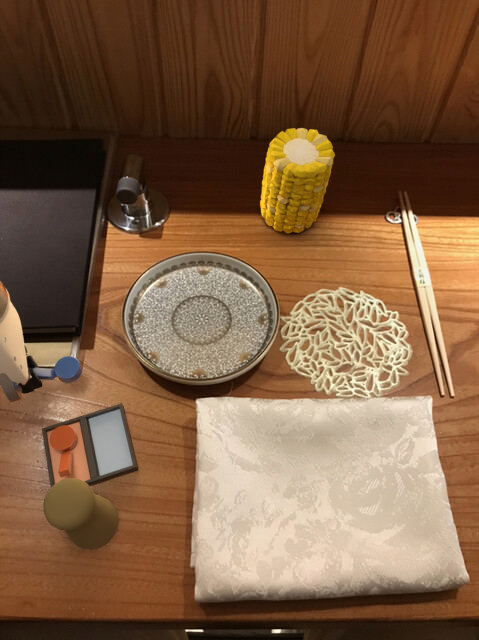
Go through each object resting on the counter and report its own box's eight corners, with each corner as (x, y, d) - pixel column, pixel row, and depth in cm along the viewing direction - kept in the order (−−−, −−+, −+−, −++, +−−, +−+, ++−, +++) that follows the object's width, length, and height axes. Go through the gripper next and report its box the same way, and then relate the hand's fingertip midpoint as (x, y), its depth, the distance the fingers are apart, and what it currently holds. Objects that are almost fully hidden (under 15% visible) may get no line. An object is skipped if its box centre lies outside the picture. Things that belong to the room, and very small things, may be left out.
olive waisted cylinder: (111, 488, 68) (86, 461, 59) (124, 537, 65) (100, 517, 56) (62, 507, 67) (29, 483, 58) (73, 557, 64) (40, 541, 55)
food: (272, 193, 94) (328, 215, 92) (241, 231, 86) (300, 256, 84) (288, 107, 82) (352, 130, 80) (253, 143, 75) (323, 169, 73)
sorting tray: (54, 497, 68) (51, 495, 67) (44, 431, 72) (41, 428, 71) (138, 469, 69) (136, 466, 68) (123, 406, 74) (121, 403, 73)
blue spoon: (28, 395, 70) (17, 383, 67) (25, 373, 72) (14, 360, 69) (84, 379, 71) (76, 366, 68) (80, 357, 73) (72, 344, 70)
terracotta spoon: (85, 478, 68) (77, 470, 65) (59, 487, 68) (50, 479, 65) (76, 425, 72) (67, 415, 69) (51, 433, 72) (41, 423, 68)
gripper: (-76, 252, 58) (-7, 339, 74) (-71, 379, 51) (5, 447, 66) (-3, 233, 59) (50, 324, 75) (13, 356, 52) (69, 428, 67)
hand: (29, 381), depth 71 cm, fingers closed on blue spoon, 1 cm apart
